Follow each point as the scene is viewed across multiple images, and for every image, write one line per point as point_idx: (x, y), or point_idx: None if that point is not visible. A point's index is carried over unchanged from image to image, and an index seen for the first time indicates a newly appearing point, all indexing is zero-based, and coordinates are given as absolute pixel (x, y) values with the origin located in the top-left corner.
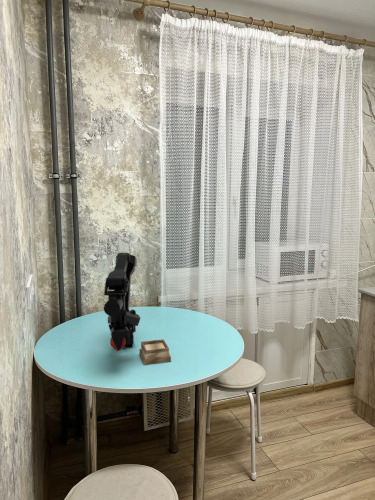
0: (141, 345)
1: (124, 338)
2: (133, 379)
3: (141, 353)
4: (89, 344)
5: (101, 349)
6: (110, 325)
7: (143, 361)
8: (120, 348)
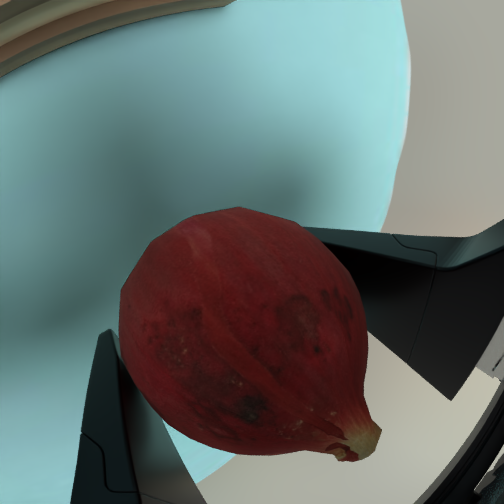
0: (1, 23)
1: (303, 259)
2: (368, 83)
3: (99, 17)
4: (7, 464)
5: (17, 408)
6: (487, 478)
7: (214, 2)
8: (310, 231)
